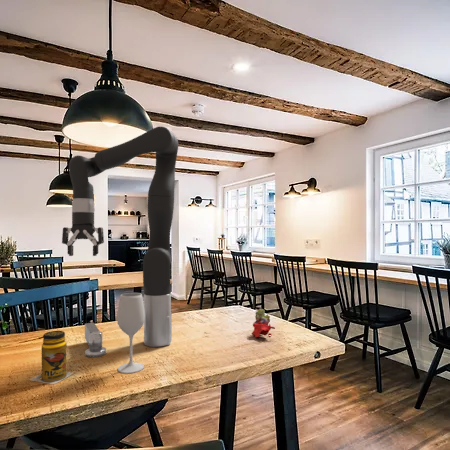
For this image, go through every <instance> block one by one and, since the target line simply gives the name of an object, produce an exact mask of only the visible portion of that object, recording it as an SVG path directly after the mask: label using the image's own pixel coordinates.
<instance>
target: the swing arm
mask: <svg viewBox="0 0 450 450" xmlns="http://www.w3.org/2000/svg"><path fill="white" fill-rule="evenodd" d="M84 339H85V342H86V343H87V346H88V349H89V351H99V350H102V347H103V332H102V331H100V330H99V328H98V326H97V325H96V323H95V322H90V323H89V322H88V323H84Z"/></svg>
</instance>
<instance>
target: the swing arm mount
mask: <svg viewBox="0 0 450 450" xmlns="http://www.w3.org/2000/svg"><path fill="white" fill-rule="evenodd" d="M106 354H107V348H106V347H104V346H102V350H99V351H89V348H87V349H85V351H84V356H85V358H89V359H90V358H91V359H92V358H100V357H103V356H105V355H106Z"/></svg>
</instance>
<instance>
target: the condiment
mask: <svg viewBox="0 0 450 450" xmlns="http://www.w3.org/2000/svg"><path fill="white" fill-rule="evenodd" d="M42 338H43V339H42V344H41V353H40V354H41V371H40V372H41V373H40V374H38V375H36V376H34V377H33V378H29V379H28V381H32V382H37V383H42V384H48V385H49V384H50V385H55V384H57V383H60V382H61V381H63V380H65V379H66V378H68V377H70V376H71V375H73V374H74V372H73V371H72V372H71V371H67V370H68V369H67V365H68V364H67V363H68V362H67V358H68V357H67V355H68V354H67V349H68V348H67V341H66V332H65V331H64V330H51V331H47V332H46V333H44V334H43V336H42Z"/></svg>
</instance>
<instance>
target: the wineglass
mask: <svg viewBox="0 0 450 450" xmlns="http://www.w3.org/2000/svg"><path fill="white" fill-rule="evenodd" d="M119 296H120V297H119V300H118V306H117V317H116V319H117V320H116V321H117V325H118V327H119V329H120V330H121V331H122V332H123V333H124V334H126V335H127V336H128V338H129V362H128V363H123V364H121V365H120V366H118V368H117V372H119V373H121V374H135V373H139V372H141V371H143V370H144V367H145V365H144V364H143V363H142V362H141V363H140V362H134V360H133V341H134V340H133V339H134V336H135V334H137V333H139V331H140V330H141V329H142V327H144V320H145V311H144V297H143V294H142V293H141V292H127V293H126V292H125V293H122V294H120V295H119Z"/></svg>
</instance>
